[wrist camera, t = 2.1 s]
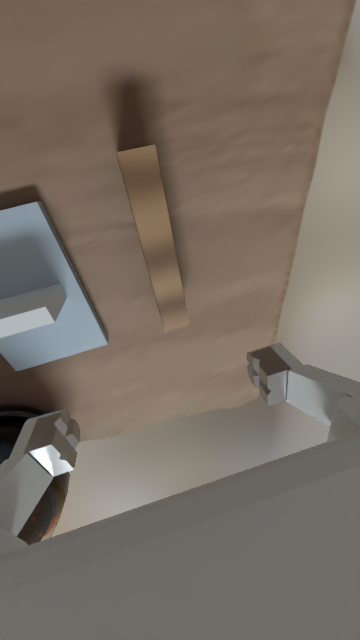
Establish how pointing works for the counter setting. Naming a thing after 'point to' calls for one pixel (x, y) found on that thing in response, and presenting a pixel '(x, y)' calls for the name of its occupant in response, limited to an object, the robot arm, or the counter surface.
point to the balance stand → (41, 293)
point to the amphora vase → (3, 432)
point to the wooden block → (154, 232)
